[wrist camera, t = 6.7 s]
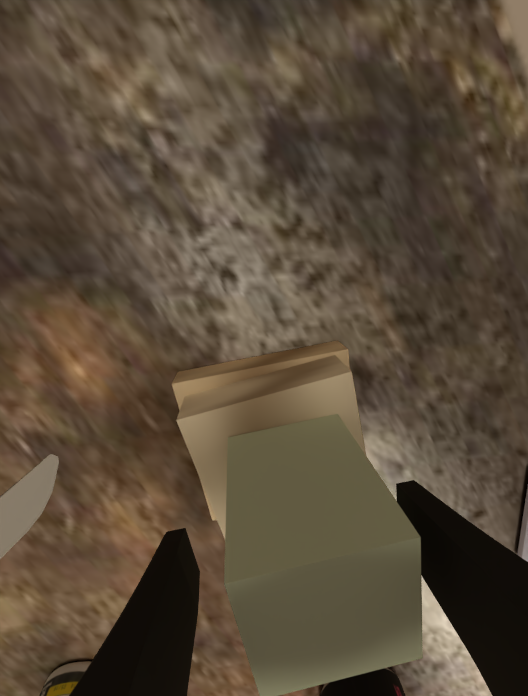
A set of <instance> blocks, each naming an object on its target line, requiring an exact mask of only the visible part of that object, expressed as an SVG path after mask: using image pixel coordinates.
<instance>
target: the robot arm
mask: <svg viewBox="0 0 528 696" xmlns="http://www.w3.org/2000/svg"><path fill="white" fill-rule="evenodd" d="M396 489H397V503H398V504H399V506H400V507H401V509H402V510H403V512H404V513H405V515H406V516H407V518H408V519H409V521H410V522H411V524H412V525H413V527H414V528H415V530H416V531H417V533H418V534H419V536H420V537H421V575H422V577H423V578H424V580H425V582H426V583H427V585H428V587H429V588H430V590H431V592H432V593H433V595H434V596H435V598H436V600H437V601H438V603H439V604H440V606H441V608H442V609H443V611H444V613H445V614H446V616H447V617H448V619H449V621H450V622H451V624H452V626H453V627H454V629H455V630H456V632H457V634H458V635H459V637H460V639H461V640H462V642H463V643H464V645H465V647H466V648H467V650H468V652H469V653H470V655H471V657H472V659H473V660H474V662H475V664H476V666H477V667H478V669H479V671H480V673H481V675H482V677H483V678H484V680H485V682H486V684H487V686H488V688H489V690H490V692H491V694H492V695H493V696H528V486H527V493H526V500H525V506H524V513H523V520H522V526H521V533H520V540H519V546H518V555H517V554H515V553H514V552H512V551H511V550H509V549H508V548H506V547H505V546H503V545H502V544H500V543H499V542H497V541H496V540H494V539H493V538H491V537H490V536H489V535H487V534H486V533H484V532H483V531H482V530H480V529H479V528H477V527H476V526H475V525H473V524H472V523H470V522H469V521H468V520H466V519H465V518H463V517H462V516H461V515H459V514H458V513H457V512H455V511H454V510H453V509H451V508H450V507H449V506H447V505H446V504H445V503H443V502H442V501H441V500H439V499H438V498H437V497H435V496H434V495H433V494H431V493H430V492H429V491H428V490H426V489H425V488H424V487H422V486H421V485H420V484H418V483H417V482H416V481H414V480H412V481H408V482H403V483H398V484H396ZM199 578H200V571H199V568H198V565H197V562H196V559H195V556H194V553H193V550H192V547H191V544H190V541H189V538H188V535H187V532H186V529H185V528H183V529H178V530H173V531H168V532H166V534H165V535H164V537H163V539H162V541H161V543H160V545H159V547H158V548H157V550H156V552H155V554H154V556H153V558H152V560H151V562H150V564H149V565H148V567H147V569H146V571H145V573H144V575H143V576H142V578H141V580H140V582H139V584H138V585H137V587H136V589H135V591H134V592H133V594H132V596H131V598H130V600H129V601H128V603H127V605H126V607H125V608H124V610H123V612H122V613H121V615H120V617H119V618H118V620H117V622H116V623H115V625H114V627H113V628H112V630H111V631H110V633H109V635H108V636H107V638H106V640H105V641H104V643H103V644H102V646H101V648H100V649H99V651H98V653H97V654H96V656H95V657H94V659H93V660H92V662H91V663H90V665H89V666H88V668H87V670H86V671H85V673H84V674H83V676H82V677H81V679H80V680H79V682H78V683H77V685H76V686H75V687H74V689H73V690H72V692H71V693H70V695H69V696H187V689H188V682H189V675H190V668H191V660H192V653H193V646H194V638H195V631H196V623H197V615H198V602H199Z"/></svg>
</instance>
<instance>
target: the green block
mask: <svg viewBox="0 0 528 696" xmlns="http://www.w3.org/2000/svg"><path fill="white" fill-rule="evenodd" d="M224 585H225V588H226V591H227V594H228V597H229V600H230V604H231V607H232V610H233V613H234V616H235V619H236V622H237V626H238V629H239V632H240V635H241V638H242V641H243V644H244V648H245V651H246V654H247V657H248V660H249V663H250V666H251V670H252V673H253V676H254V679H255V682H256V685H257V688H258V692H259V695H260V696H279V695H282V694H286V693H290V692H294V691H298V690H302V689H306V688H310V687H313V686H317V685H321V684H325V683H329V682H333V681H337V680H341V679H344V678H348V677H352V676H356V675H360V674H364V673H368V672H372V671H375V670H379V669H383V668H387V667H391V666H395V665H399V664H403V663H406V662H410V661H414V660H418V659H422V658H423V657H422V594H421V537H420V536H419V534H418V533H417V531H416V530H415V528H414V527H413V525H412V524H411V522H410V521H409V519H408V518H407V516H406V515H405V513H404V512H403V510H402V509H401V507H400V506H399V504H398V503H397V501H396V500H395V498H394V497H393V495H392V494H391V492H390V491H389V489H388V488H387V486H386V485H385V483H384V482H383V480H382V479H381V478H380V476H379V475H378V473H377V472H376V470H375V469H374V467H373V466H372V464H371V463H370V461H369V460H368V458H367V457H366V455H365V454H364V452H363V451H362V449H361V448H360V446H359V445H358V443H357V442H356V440H355V439H354V437H353V436H352V434H351V433H350V431H349V430H348V428H347V427H346V425H345V424H344V422H343V421H342V420H341V418H340V417H339V415H338V414H334V415H329V416H324V417H320V418H315V419H310V420H306V421H301V422H297V423H292V424H287V425H283V426H278V427H273V428H269V429H264V430H260V431H255V432H250V433H246V434H241V435H237V436H232V437H228V449H227V491H226V533H225V575H224Z"/></svg>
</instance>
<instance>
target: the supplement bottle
mask: <svg viewBox="0 0 528 696" xmlns="http://www.w3.org/2000/svg"><path fill="white" fill-rule="evenodd" d="M90 663H91V662H90V661H83V662H74V663H69V664H66V665H63V666H61V667H59V668H58V669H56V670H55V671H54V672H53V673H52V674H51V675H50V676H49V677H48V679H47V681H46V683H45V685H44V687H43V689H42V691H41V693H40V696H69V695H70V693H71V692H72V690H73V689H74V687H75V686H76V685H77V683H78V682H79V680H80V679H81V677H82V676H83V674H84V673H85V671H86V670H87V668H88V666H89V665H90Z"/></svg>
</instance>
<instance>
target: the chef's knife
mask: <svg viewBox="0 0 528 696" xmlns="http://www.w3.org/2000/svg"><path fill="white" fill-rule="evenodd" d="M58 464H59V460H58V457H57V456H55V455H52V454H50V455H49V456H48V457H46V458H45V459H44V460H43V461H42V462H41V463H39V464H38V465H37V466H36V467H35V468H34V469H32V470H31V471H30V472H29V473H28V474H27V475H25V476H24V477H23V478H22V479H21V480H19V481H18V482H17V483H16V484H14V485H13V486H12V487H11V488H10V489H8V490H7V491H6V492H5V493H4V494H3V495H1V496H0V559H1V558H2V557H3V556H4V555H5V554H6V553H7V552H8V551H9V550H10V549H11V548H12V547H13V546H14V545H15V544H16V543H17V542H18V541H19V540H20V539H21V538H22V537H23V535H24V534H25V533H26V532H27V531H28V530H29V529H30V528H31V527H32V525H33V524H34V523H35V521H36V520H37V519H38V517H39V516H40V515H41V514H42V512H43V510H44V508H45V506H46V504H47V502H48V500H49V497H50V495H51V493H52V491H53V487H54V482H55V478H56V473H57V468H58Z"/></svg>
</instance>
